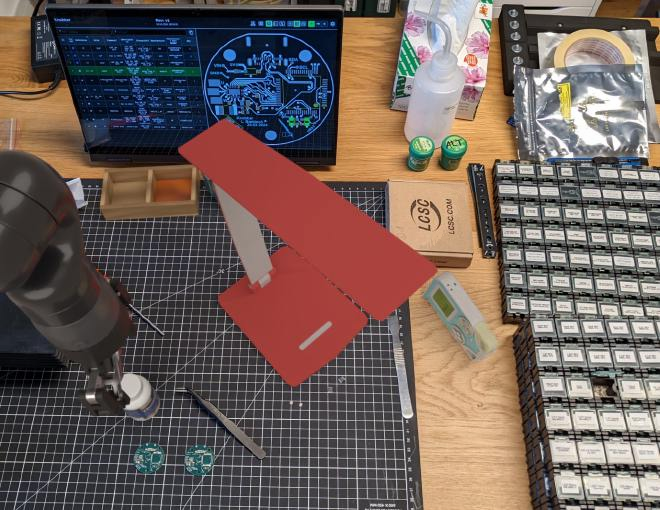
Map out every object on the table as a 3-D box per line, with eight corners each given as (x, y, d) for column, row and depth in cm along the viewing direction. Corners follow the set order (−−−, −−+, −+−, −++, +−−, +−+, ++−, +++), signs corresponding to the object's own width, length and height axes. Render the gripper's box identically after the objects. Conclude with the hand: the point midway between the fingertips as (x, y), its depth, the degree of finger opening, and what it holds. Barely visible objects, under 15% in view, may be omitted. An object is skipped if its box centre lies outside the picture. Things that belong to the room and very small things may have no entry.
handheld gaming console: (470, 369, 105) (419, 297, 109) (483, 361, 106) (432, 289, 110) (491, 353, 95) (434, 274, 99) (505, 344, 96) (448, 266, 100)
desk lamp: (340, 441, 97) (349, 349, 62) (192, 281, 111) (131, 132, 76) (418, 367, 103) (466, 245, 68) (269, 223, 117) (245, 61, 82)
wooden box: (198, 215, 118) (195, 203, 114) (106, 220, 117) (99, 208, 113) (200, 176, 122) (196, 164, 119) (110, 181, 121) (104, 169, 118)
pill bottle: (154, 424, 98) (138, 407, 90) (122, 418, 98) (103, 400, 90) (165, 391, 101) (150, 371, 92) (133, 385, 101) (116, 365, 93)
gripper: (51, 250, 63) (100, 314, 77) (26, 385, 56) (85, 429, 71) (126, 246, 64) (161, 311, 78) (110, 381, 57) (152, 425, 71)
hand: (125, 367), depth 74 cm, fingers open, 8 cm apart
